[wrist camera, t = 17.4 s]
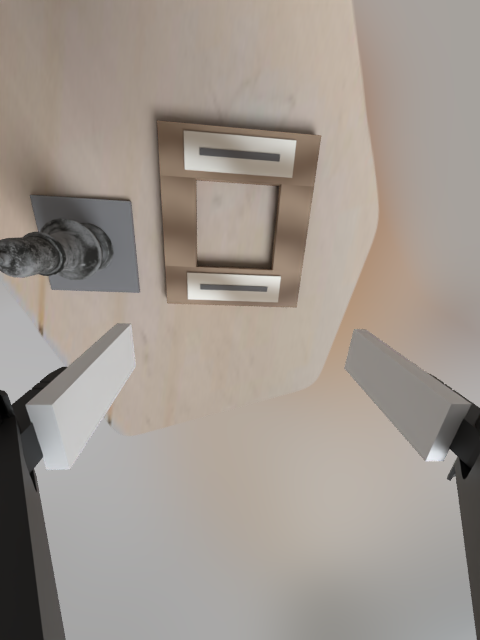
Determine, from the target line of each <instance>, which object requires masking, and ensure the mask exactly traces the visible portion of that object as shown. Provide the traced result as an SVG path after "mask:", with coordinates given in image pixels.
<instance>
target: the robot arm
mask: <svg viewBox="0 0 480 640" xmlns="http://www.w3.org/2000/svg"><path fill="white" fill-rule="evenodd" d="M135 367H136V362H135V353H134V345H133V336H132V328H131V324H120V323H117V324H116V325H115V326H114V327H112V328H111V329H110V330H109V331H108V332H107V333H106V334H104V335H103V336H102V337H101V338H100V339H99V340H98V341H97V342H95V343H94V344H93V345H92V346H91V347H90V348H89V349H88V350H86V351H85V352H84V353H83V354H82V355H81V356H80V357H79V358H77V359H76V360H75V361H74V362H73V363H72V364H71V365H70V366H68V367H61V368H59V369H57V370H55V371H54V372H52V373H50V374H49V375H47V376H46V377H45V378H44V379H42V380H41V381H40V383H38V384H36V385H35V386H34V387H33V388H32V390H29V391H28V392H27V393H25V395H23V396H22V397H21V398H20V399H18V400H17V401H16V402H15V403H13V404H12V405H11V403H10V400H9V397H8V395H7V393H6V392H5V391H1V390H0V640H65V633H64V628H63V622H62V617H61V612H60V605H59V600H58V594H57V589H56V583H55V578H54V572H53V566H52V562H51V555H50V550H49V544H48V539H47V533H46V528H45V522H44V517H43V511H42V505H41V500H40V494H39V488H38V483H37V477H36V473H35V471H34V467H35V466H36V465H37V464H38V462H39V461H40V460H41V459H42V457H43V460H44V463H45V466H46V469H47V470H64V469H71V467H72V466H73V464H74V463H75V461H76V459H77V458H78V456H79V455H80V453H81V452H82V450H83V448H84V447H85V445H86V444H87V442H88V441H89V439H90V437H91V436H92V434H93V433H94V431H95V430H96V428H97V426H98V425H99V423H100V422H101V420H102V419H103V417H104V416H105V414H106V412H107V411H108V409H109V408H110V406H111V405H112V403H113V401H114V400H115V398H116V397H117V395H118V394H119V392H120V390H121V389H122V387H123V386H124V384H125V383H126V381H127V379H128V378H129V376H130V375H131V373H132V372H133V370H134V368H135ZM345 369H346V371H347V372H348V373H349V374H350V375H351V376H352V378H353V379H354V380H355V381H356V382H357V383H358V384H359V386H360V387H361V388H362V389H363V390H364V391H365V392H366V394H367V395H368V396H369V397H370V398H371V399H372V401H373V402H374V403H375V404H376V405H377V406H378V407H379V409H380V410H381V411H382V412H383V413H384V414H385V415H386V417H387V418H388V419H389V420H390V421H391V422H392V424H393V425H394V426H395V427H396V428H397V429H398V430H399V432H400V433H401V434H402V435H403V436H404V437H405V438H406V440H407V441H408V442H409V443H410V444H411V445H412V447H413V448H414V449H415V450H416V451H417V452H418V453H419V455H420V456H421V457H422V458H423V459H424V460H425V461H444V459H445V457H446V455H447V453H448V451H449V449H451V450H452V451H453V452H454V453H455V454H456V455H457V456H458V457H457V459H456V461H455V463H454V465H453V467H452V469H451V470H450V473H449V474H448V477H447V479H448V480H451V479H452V477H454V476H456V483H457V490H458V497H459V505H460V513H461V520H462V527H463V536H464V543H465V551H466V558H467V565H468V574H469V581H470V589H471V597H472V605H473V613H474V620H475V628H476V635H477V640H480V408H479V407H478V406H476V405H475V404H473V403H472V402H470V401H469V400H467V399H466V398H465V397H463V396H462V395H460V394H459V393H457V392H456V391H454V390H452V388H450V387H449V386H447V385H446V384H444V383H443V382H442V381H440V380H439V379H437V378H436V377H434V376H432V375H431V374H429V373H427V372H425V371H424V370H422V369H421V368H420V367H418V366H417V365H416V364H414V363H412V362H411V361H410V360H408V359H407V358H405V357H404V356H403V355H401V354H400V353H398V352H397V351H396V350H394V349H393V348H391V347H390V346H389V345H387V344H386V343H384V342H383V341H381V340H380V339H379V338H377V337H376V336H374V335H373V334H371V333H370V332H369V331H367V330H364V329H361V330H360V329H354V331H353V335H352V339H351V343H350V347H349V352H348V356H347V360H346V364H345Z"/></svg>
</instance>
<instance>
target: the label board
mask: <svg viewBox="0 0 480 640" xmlns="http://www.w3.org/2000/svg"><path fill="white" fill-rule="evenodd" d="M157 131H158V149H159V166H160V184H161V201H162V219H163V237H164V254H165V272H166V289H167V303H170V304H201V305H233V306H264V307H297V300H298V294H299V287H300V280H301V273H302V266H303V259H304V252H305V245H306V238H307V231H308V224H309V217H310V210H311V203H312V196H313V190H314V183H315V176H316V169H317V162H318V155H319V148H320V141H321V135H310V134H299V133H288V132H277V131H266V130H255V129H244V128H234V127H223V126H212V125H201V124H190V123H179V122H168V121H157ZM196 180H201V181H215V182H229V183H242V184H256V185H270V186H279V192H278V203H277V213H276V223H275V233H274V243H273V253H272V263H271V269H262V268H240V267H218V266H197V199H196Z"/></svg>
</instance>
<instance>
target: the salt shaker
mask: <svg viewBox="0 0 480 640" xmlns="http://www.w3.org/2000/svg"><path fill="white" fill-rule="evenodd" d="M113 254H114V252H113V245H112V243H111V240H110V239H109V237H108V235H107V234H106V233H105V232H104V231H103V230H102V229H100V228H99V227H97V226H96V225H93V224H90V223H79V222H77V221H74V220H71V219H63V218H59V219H54V220H51V221H49V222H48V223H46V224H45V225H44V226H43V227H42V228H41V230H40V232H32V233H28V234H26V235H25V236H24V237H23V238H6V239H2V240H0V271H1V272H3V273H5V274H7V275H8V276H12V277H21V278H23V277H28V276H32V275H36V274H40V275H43V276H52V275H56V274H58V275H60V276H61V277H63V278H67V279H70V280H83V279H87V278H89V277H91V276H93V275H94V274H95V273H96V272H97V271H101V270H103V269H105V268H106V267H107V266H108V265H109V264H110V263H111V261H112V259H113Z"/></svg>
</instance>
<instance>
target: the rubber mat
mask: <svg viewBox="0 0 480 640" xmlns="http://www.w3.org/2000/svg"><path fill="white" fill-rule="evenodd" d="M30 198H31V202H32V207H33V211H34V215H35V220H36V224H37V228H38V232H40V230H41V228H42V227H43V226H44V225H45V224H46V223H48V222H49V221H51V220H54V219H59V218H63V219H71V220H74V221H77V222H79V223H90V224H93V225H96V226H97V227H99V228H100V229H102V230H103V231H104V232H105V233H106V234H107V235H108V237H109V239H110V240H111V243H112V245H113V252H114V254H113V259H112V261H111V263H110V264H109V265H108V266H107V267H106V268H105V269H103V270H101V271H97V272H96V273H95V274H94V275H93V276H91V277H89V278H87V279H83V280H70V279H67V278H63V277H61V276H60V275H58V274H56V275H52V276H49V280H50V285H51V289H52V290H76V291H105V292H133V293H139V292H140V287H139V277H138V267H137V256H136V246H135V236H134V226H133V215H132V205H131V202H130V201H117V200H102V199H86V198H71V197H55V196H40V195H30Z"/></svg>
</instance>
